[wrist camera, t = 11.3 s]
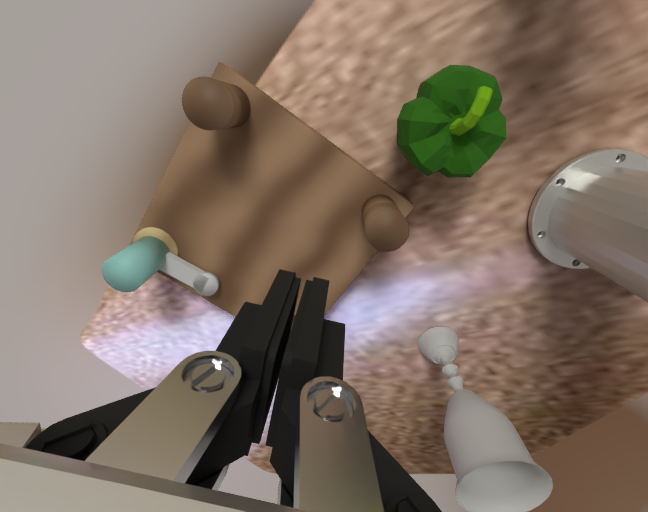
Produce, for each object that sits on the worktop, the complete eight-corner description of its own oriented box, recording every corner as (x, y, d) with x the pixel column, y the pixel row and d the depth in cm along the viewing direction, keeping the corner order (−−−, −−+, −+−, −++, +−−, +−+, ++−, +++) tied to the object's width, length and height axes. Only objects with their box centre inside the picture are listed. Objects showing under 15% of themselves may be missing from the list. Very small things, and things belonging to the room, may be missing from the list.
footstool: (409, 200, 35) (430, 225, 27) (297, 337, 43) (288, 387, 35) (227, 65, 31) (190, 49, 23) (138, 245, 38) (87, 278, 30)
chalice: (410, 366, 44) (455, 519, 27) (407, 324, 41) (454, 464, 25) (467, 360, 43) (548, 514, 27) (467, 317, 40) (557, 457, 24)
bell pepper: (431, 185, 34) (465, 211, 25) (372, 132, 33) (386, 139, 23) (495, 117, 32) (560, 118, 22) (435, 55, 30) (479, 28, 21)
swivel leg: (142, 229, 34) (109, 249, 29) (225, 275, 36) (207, 302, 31) (131, 256, 36) (96, 279, 30) (211, 299, 37) (192, 328, 32)
